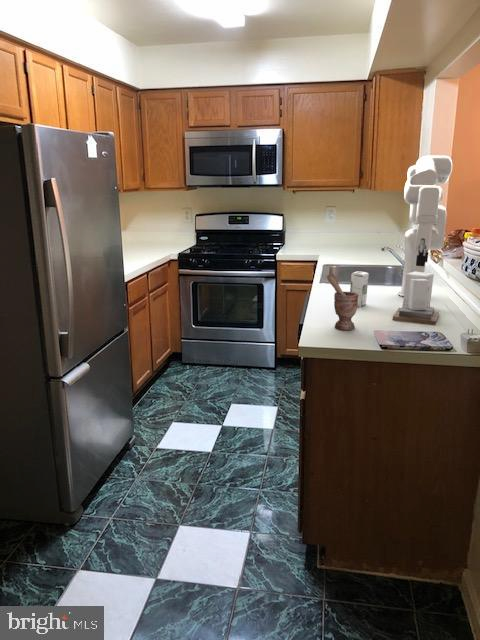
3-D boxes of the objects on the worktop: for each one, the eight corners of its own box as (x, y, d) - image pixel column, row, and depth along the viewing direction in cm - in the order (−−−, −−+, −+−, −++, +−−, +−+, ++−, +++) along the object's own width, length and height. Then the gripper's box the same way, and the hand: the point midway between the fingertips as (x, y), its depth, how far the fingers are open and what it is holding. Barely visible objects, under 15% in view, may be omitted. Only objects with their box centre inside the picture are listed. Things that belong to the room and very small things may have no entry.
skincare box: (422, 307, 208) (425, 278, 204) (426, 310, 203) (429, 280, 200) (407, 307, 207) (410, 278, 204) (410, 310, 203) (414, 280, 200)
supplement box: (421, 311, 217) (425, 276, 213) (401, 307, 223) (405, 273, 219) (430, 307, 223) (434, 273, 219) (411, 304, 229) (414, 270, 225)
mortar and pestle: (324, 330, 188) (327, 276, 183) (324, 323, 196) (326, 272, 191) (356, 331, 187) (360, 277, 181) (354, 325, 195) (358, 273, 190)
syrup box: (353, 302, 230) (356, 270, 226) (366, 304, 227) (368, 272, 223) (348, 305, 226) (350, 272, 222) (361, 307, 222) (363, 274, 219)
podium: (398, 311, 216) (399, 302, 216) (438, 315, 210) (439, 307, 209) (392, 320, 202) (393, 311, 202) (435, 324, 196) (436, 316, 195)
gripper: (418, 217, 205) (414, 259, 210) (413, 221, 190) (408, 266, 195) (438, 218, 202) (433, 261, 207) (434, 222, 187) (429, 268, 192)
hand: (421, 263), depth 201 cm, fingers open, 9 cm apart
